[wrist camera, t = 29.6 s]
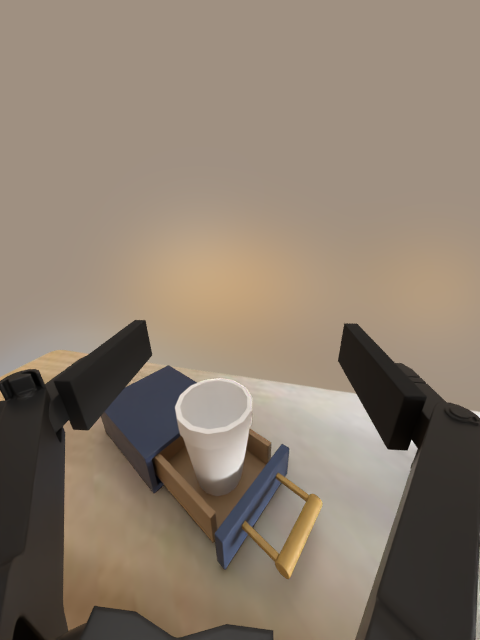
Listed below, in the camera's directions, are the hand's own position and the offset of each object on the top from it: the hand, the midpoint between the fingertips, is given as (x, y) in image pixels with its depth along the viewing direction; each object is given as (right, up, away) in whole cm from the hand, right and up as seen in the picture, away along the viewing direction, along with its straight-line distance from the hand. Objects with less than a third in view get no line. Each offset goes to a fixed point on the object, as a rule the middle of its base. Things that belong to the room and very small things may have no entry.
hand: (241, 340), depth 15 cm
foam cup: (-3, -21, +18) cm, 28 cm away
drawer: (-1, -22, +17) cm, 28 cm away
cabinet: (-14, -19, +27) cm, 36 cm away
